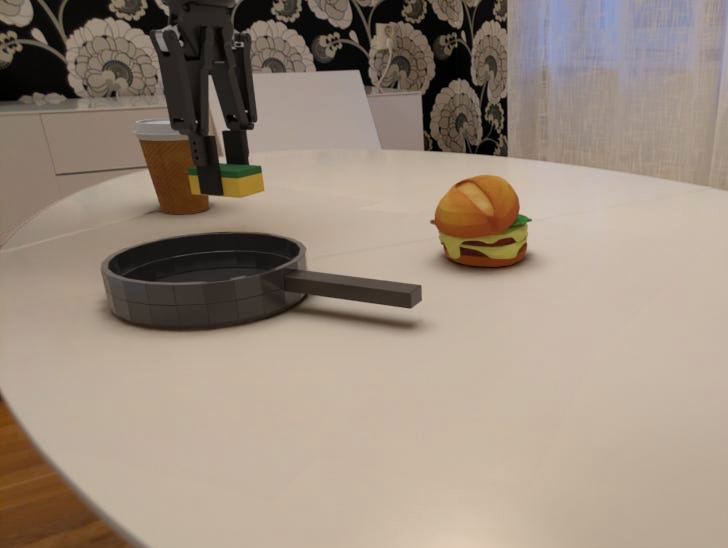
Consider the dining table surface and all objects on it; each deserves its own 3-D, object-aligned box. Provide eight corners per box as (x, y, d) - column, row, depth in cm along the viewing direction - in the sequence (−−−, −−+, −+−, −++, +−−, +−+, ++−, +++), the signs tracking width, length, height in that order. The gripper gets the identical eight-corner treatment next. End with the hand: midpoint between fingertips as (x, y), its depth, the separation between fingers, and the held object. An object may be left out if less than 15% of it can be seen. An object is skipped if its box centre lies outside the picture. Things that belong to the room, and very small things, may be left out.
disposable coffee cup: (191, 200, 102) (177, 116, 97) (235, 207, 97) (222, 120, 92) (134, 211, 94) (115, 121, 89) (178, 220, 90) (161, 125, 85)
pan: (64, 315, 57) (52, 270, 56) (203, 262, 72) (197, 225, 71) (230, 343, 52) (223, 295, 51) (343, 280, 67) (340, 241, 65)
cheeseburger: (548, 251, 77) (544, 167, 71) (504, 298, 70) (496, 209, 64) (472, 238, 81) (463, 158, 75) (424, 280, 74) (409, 196, 68)
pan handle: (284, 291, 58) (282, 276, 57) (299, 284, 60) (297, 269, 59) (411, 309, 54) (410, 292, 54) (422, 300, 56) (422, 284, 56)
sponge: (191, 194, 79) (186, 168, 78) (217, 187, 83) (213, 162, 82) (240, 198, 77) (236, 171, 76) (264, 191, 81) (261, 165, 80)
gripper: (159, -48, 62) (201, 207, 71) (273, -28, 77) (296, 180, 86) (96, -45, 64) (146, 202, 74) (219, -26, 79) (247, 177, 89)
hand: (227, 189), depth 80 cm, fingers closed on sponge, 4 cm apart
